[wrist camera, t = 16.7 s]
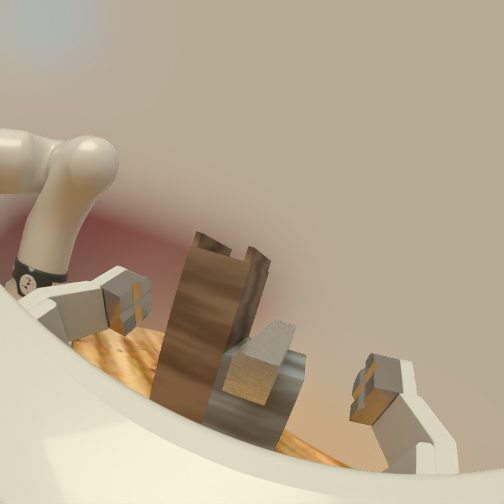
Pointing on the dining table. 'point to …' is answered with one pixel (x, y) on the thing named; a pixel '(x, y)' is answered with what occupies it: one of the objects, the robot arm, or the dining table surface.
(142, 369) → the dining table surface
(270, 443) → the stand
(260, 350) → the steel bar
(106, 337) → the dining table surface
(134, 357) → the dining table surface
